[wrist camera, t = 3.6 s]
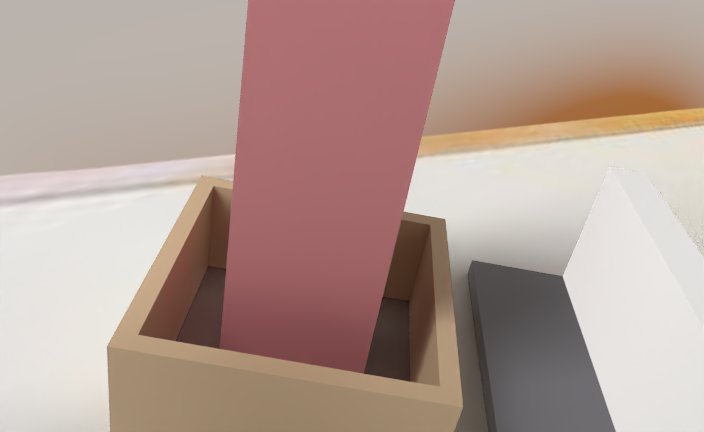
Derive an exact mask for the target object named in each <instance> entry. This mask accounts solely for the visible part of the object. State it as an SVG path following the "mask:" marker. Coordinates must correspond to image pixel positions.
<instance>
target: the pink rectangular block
mask: <svg viewBox="0 0 704 432" xmlns="http://www.w3.org/2000/svg"><path fill="white" fill-rule="evenodd" d="M454 2H455V0H248V10H247V22H246V34H245V46H244V47H245V48H244V58H243V72H242V84H241V95H240V107H239V119H238V132H237V144H236V156H235V168H234V180H233V192H232V204H231V216H230V229H229V241H228V253H227V265H226V277H225V289H224V302H223V314H222V326H221V338H220V349H223V350H229V351H235V352H241V353H247V354H252V355H258V356H264V357H270V358H276V359H281V360H287V361H293V362H299V363H305V364H310V365H316V366H322V367H328V368H334V369H339V370H345V371H351V372H357V373H363V374H364V371H365V367H366V363H367V358H368V354H369V350H370V346H371V342H372V338H373V334H374V330H375V326H376V322H377V317H378V313H379V309H380V305H381V301H382V297H383V293H384V289H385V285H386V281H387V276H388V272H389V268H390V264H391V260H392V256H393V252H394V248H395V244H396V240H397V235H398V231H399V227H400V223H401V219H402V215H403V211H404V207H405V203H406V199H407V194H408V190H409V186H410V182H411V178H412V174H413V170H414V166H415V162H416V158H417V153H418V149H419V145H420V141H421V137H422V133H423V129H424V124H425V121H426V117H427V112H428V108H429V104H430V100H431V96H432V92H433V88H434V84H435V80H436V76H437V71H438V67H439V63H440V59H441V55H442V51H443V47H444V43H445V39H446V35H447V30H448V26H449V22H450V18H451V14H452V10H453V6H454Z"/></svg>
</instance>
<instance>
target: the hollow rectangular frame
mask: <svg viewBox="0 0 704 432" xmlns="http://www.w3.org/2000/svg"><path fill="white" fill-rule="evenodd" d="M232 192H233V181H229V180H224V179H218V178H213V177H207V176H201V178H200V179H199V181H198V183H197V185H196V187H195V188H194V190H193V192H192V194H191V196H190V198H189V199H188V201H187V203H186V205H185V207H184V208H183V210H182V212H181V214H180V216H179V217H178V219H177V221H176V223H175V225H174V226H173V228H172V230H171V232H170V234H169V235H168V237H167V239H166V241H165V243H164V244H163V246H162V248H161V250H160V252H159V254H158V255H157V257H156V259H155V261H154V263H153V264H152V266H151V268H150V270H149V272H148V273H147V275H146V277H145V279H144V281H143V282H142V284H141V286H140V288H139V290H138V291H137V293H136V295H135V297H134V299H133V300H132V302H131V304H130V306H129V308H128V310H127V311H126V313H125V315H124V317H123V319H122V320H121V322H120V324H119V326H118V328H117V329H116V331H115V333H114V335H113V337H112V338H111V340H110V342H109V344H108V346H107V357H108V383H109V410H110V432H454V431H455V428H456V426H457V423H458V420H459V418H460V415H461V412H462V409H463V400H462V389H461V379H460V368H459V358H458V347H457V337H456V326H455V316H454V306H453V295H452V285H451V274H450V264H449V253H448V243H447V232H446V222H445V219H441V218H435V217H430V216H424V215H419V214H413V213H408V212H403V215H402V219H401V223H400V227H399V231H398V235H397V240H396V244H395V248H394V252H393V256H392V260H391V264H390V268H389V272H388V276H387V281H386V285H385V289H384V293H383V297H388V298H393V299H399V300H405V301H410V382H409V381H403V380H398V379H392V378H386V377H380V376H374V375H368V374H363V373H357V372H351V371H345V370H339V369H334V368H328V367H322V366H316V365H310V364H305V363H299V362H293V361H287V360H281V359H276V358H270V357H264V356H258V355H252V354H247V353H241V352H235V351H229V350H223V349H217V348H212V347H206V346H200V345H194V344H188V343H183V342H177V341H176V340H177V337H178V335H179V333H180V330H181V328H182V326H183V323H184V321H185V319H186V316H187V314H188V312H189V310H190V307H191V305H192V303H193V300H194V298H195V296H196V293H197V291H198V289H199V286H200V284H201V282H202V279H203V277H204V275H205V272H206V270H207V268H208V266H211V267H217V268H223V269H226V265H227V253H228V241H229V229H230V216H231V204H232Z"/></svg>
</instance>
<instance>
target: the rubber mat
mask: <svg viewBox="0 0 704 432" xmlns="http://www.w3.org/2000/svg"><path fill="white" fill-rule="evenodd" d="M468 280H469V287H470V295H471V303H472V310H473V318H474V325H475V333H476V340H477V348H478V355H479V363H480V370H481V378H482V386H483V393H484V401H485V408H486V416H487V423H488V431H489V432H616V431H615V428H614V425H613V422H612V419H611V416H610V413H609V410H608V407H607V404H606V401H605V399H604V396H603V393H602V390H601V387H600V384H599V381H598V378H597V375H596V372H595V369H594V366H593V363H592V361H591V358H590V355H589V352H588V349H587V346H586V343H585V340H584V337H583V334H582V331H581V328H580V326H579V323H578V320H577V317H576V314H575V311H574V308H573V305H572V302H571V299H570V296H569V293H568V291H567V288H566V285H565V282H564V279H563V277H562V276H557V275H551V274H545V273H540V272H534V271H529V270H523V269H517V268H512V267H506V266H501V265H495V264H489V263H484V262H478V261H472V262H471V266H470V269H469V272H468Z"/></svg>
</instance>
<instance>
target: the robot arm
mask: <svg viewBox="0 0 704 432" xmlns="http://www.w3.org/2000/svg"><path fill="white" fill-rule="evenodd" d="M563 279H564V282H565V285H566V288H567V291H568V293H569V296H570V299H571V302H572V305H573V308H574V311H575V314H576V317H577V320H578V323H579V326H580V328H581V331H582V334H583V337H584V340H585V343H586V346H587V349H588V352H589V355H590V358H591V361H592V363H593V366H594V369H595V372H596V375H597V378H598V381H599V384H600V387H601V390H602V393H603V396H604V399H605V401H606V404H607V407H608V410H609V413H610V416H611V419H612V422H613V425H614V428H615V431H616V432H704V257H703V255H702V254H701V252H700V251H699V249H698V248H697V246H696V245H695V244H694V242H693V241H692V239H691V238H690V236H689V235H688V233H687V232H686V230H685V229H684V227H683V226H682V224H681V223H680V221H679V220H678V218H677V217H676V215H675V214H674V212H673V211H672V209H671V208H670V206H669V205H668V203H667V202H666V200H665V199H664V198H663V196H662V195H661V193H660V192H659V190H658V189H657V187H656V186H655V184H654V183H653V181H652V180H651V178H650V177H649V175H648V174H647V173H643V172H638V171H633V170H628V169H622V168H617V167H612V166H609V169H608V171H607V174H606V176H605V178H604V181H603V183H602V185H601V188H600V190H599V192H598V195H597V197H596V199H595V202H594V204H593V206H592V209H591V211H590V213H589V216H588V218H587V220H586V223H585V225H584V227H583V230H582V232H581V234H580V237H579V239H578V241H577V244H576V246H575V248H574V251H573V253H572V255H571V258H570V260H569V262H568V265H567V267H566V269H565V272H564V274H563Z"/></svg>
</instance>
